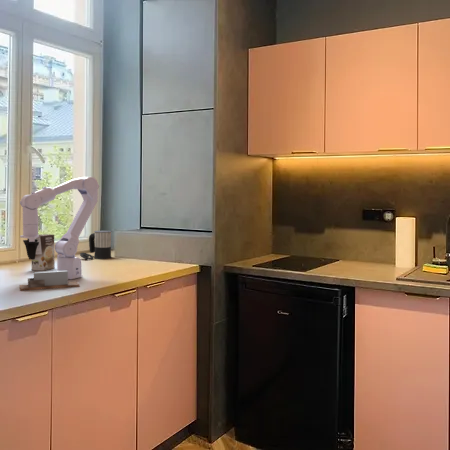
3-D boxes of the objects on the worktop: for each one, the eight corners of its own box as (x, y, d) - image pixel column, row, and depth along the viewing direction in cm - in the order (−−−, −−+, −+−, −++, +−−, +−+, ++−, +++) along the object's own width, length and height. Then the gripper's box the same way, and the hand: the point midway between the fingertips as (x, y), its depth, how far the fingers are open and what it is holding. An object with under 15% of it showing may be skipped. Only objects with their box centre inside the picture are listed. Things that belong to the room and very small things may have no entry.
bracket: (76, 283, 207) (76, 275, 207) (79, 286, 200) (79, 278, 200) (19, 287, 199) (19, 278, 198) (20, 290, 192) (20, 281, 192)
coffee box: (43, 271, 239) (42, 235, 238) (31, 270, 241) (30, 235, 240) (55, 268, 248) (54, 234, 247) (43, 267, 249) (42, 233, 248)
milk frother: (114, 257, 288) (114, 230, 287) (101, 261, 273) (101, 232, 272) (90, 256, 291) (90, 230, 290) (76, 260, 276) (76, 232, 275)
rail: (66, 283, 203) (66, 270, 203) (67, 284, 200) (67, 271, 200) (33, 285, 198) (33, 272, 198) (34, 286, 196) (34, 273, 195)
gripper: (19, 223, 215) (19, 256, 216) (20, 225, 202) (21, 260, 203) (37, 223, 218) (37, 255, 219) (39, 225, 205) (40, 259, 206)
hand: (31, 258), depth 211 cm, fingers open, 7 cm apart
